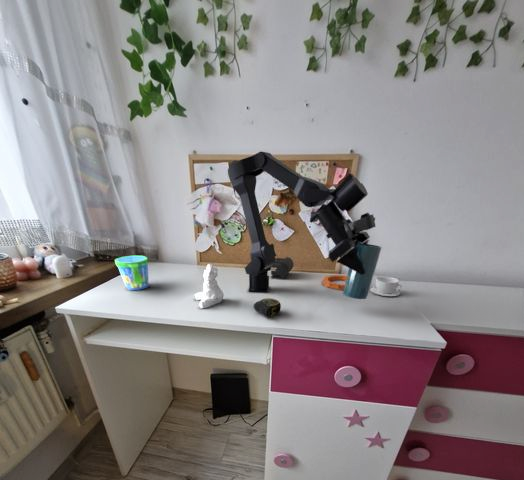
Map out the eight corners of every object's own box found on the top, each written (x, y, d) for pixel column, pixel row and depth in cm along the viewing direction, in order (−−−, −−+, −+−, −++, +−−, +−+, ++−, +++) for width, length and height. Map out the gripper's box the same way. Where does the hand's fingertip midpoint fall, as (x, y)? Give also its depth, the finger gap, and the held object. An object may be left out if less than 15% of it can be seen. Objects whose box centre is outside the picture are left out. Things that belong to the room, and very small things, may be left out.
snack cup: (155, 292, 95) (148, 262, 90) (122, 296, 92) (113, 265, 86) (151, 279, 107) (146, 253, 102) (122, 282, 104) (115, 255, 98)
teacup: (364, 292, 97) (367, 279, 94) (376, 286, 103) (379, 273, 101) (393, 299, 91) (397, 286, 88) (403, 292, 97) (407, 279, 95)
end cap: (287, 280, 108) (288, 262, 105) (270, 278, 110) (271, 261, 107) (293, 273, 116) (294, 257, 113) (277, 272, 118) (277, 256, 115)
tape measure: (252, 312, 81) (252, 300, 79) (271, 307, 84) (271, 296, 82) (265, 320, 76) (266, 308, 74) (285, 315, 79) (285, 303, 77)
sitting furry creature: (194, 298, 90) (189, 261, 84) (219, 295, 93) (217, 259, 87) (200, 309, 83) (196, 269, 76) (228, 305, 86) (225, 266, 79)
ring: (325, 289, 100) (325, 284, 99) (321, 278, 111) (322, 274, 110) (363, 290, 99) (363, 286, 98) (355, 279, 110) (356, 275, 109)
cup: (344, 296, 77) (357, 244, 71) (341, 290, 83) (353, 242, 77) (368, 300, 76) (384, 248, 70) (364, 294, 82) (378, 245, 76)
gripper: (348, 203, 63) (386, 259, 63) (369, 200, 76) (400, 246, 77) (313, 236, 70) (347, 285, 71) (337, 228, 84) (366, 269, 85)
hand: (367, 270), depth 76 cm, fingers closed on cup, 7 cm apart
